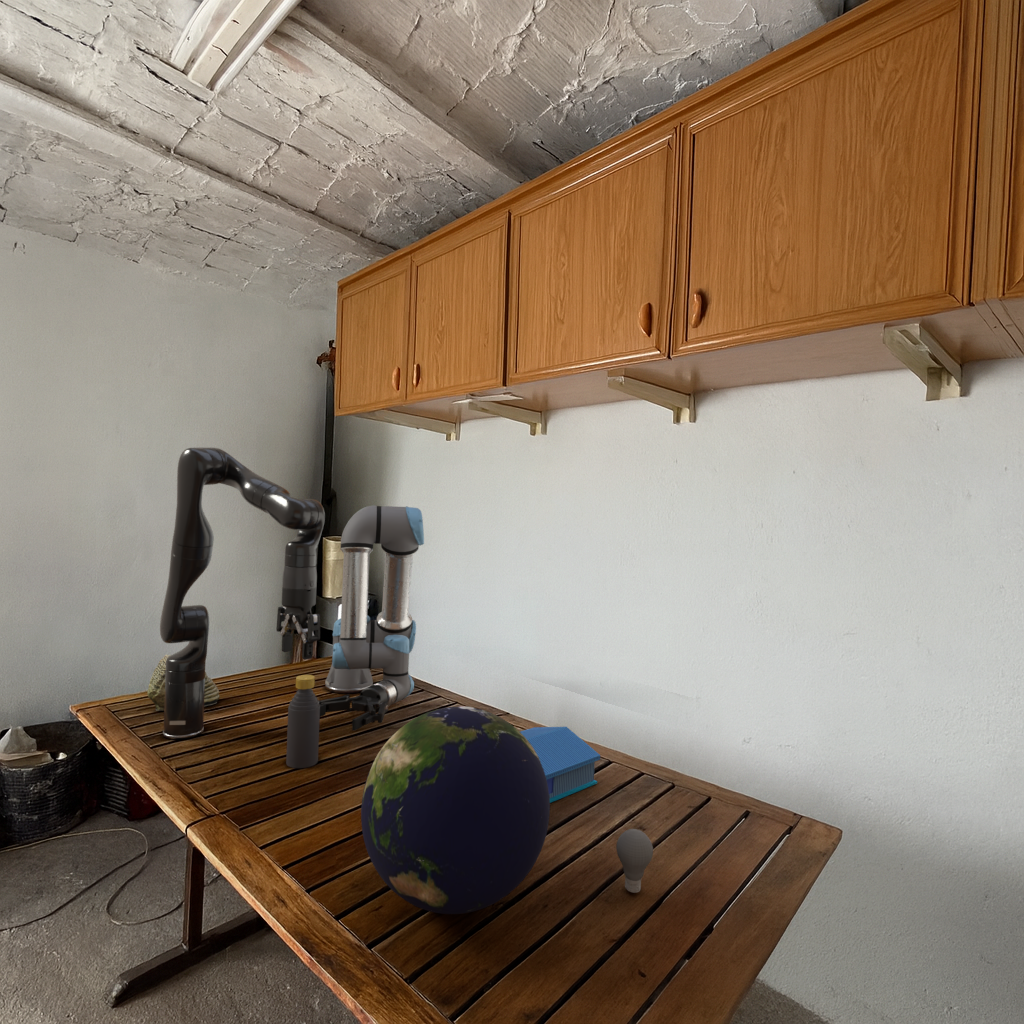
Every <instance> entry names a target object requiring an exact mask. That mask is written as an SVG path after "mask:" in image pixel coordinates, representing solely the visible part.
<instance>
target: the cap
mask: <svg viewBox="0 0 1024 1024" xmlns="http://www.w3.org/2000/svg"><path fill="white" fill-rule="evenodd" d="M315 677H316V676H315V675H313V674H302V675H297V676H296V677H295V688H296V689H297V690H298V689H311V688H312V689H314V687H315V685H316V678H315Z"/></svg>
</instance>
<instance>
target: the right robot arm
mask: <svg viewBox="0 0 1024 1024" xmlns="http://www.w3.org/2000/svg"><path fill="white" fill-rule="evenodd" d="M423 520H424V519H423V513H422V510H421V509H420V508H418V507H410V506H389V505H367V506H365V507H363V508H361V509H359V510H358V511H356V512H355V513H354V514H353V515H352V516H351V517H350V518H349V520H348V521H347V522H346V524H345V526H344V528H343V531H342V534H341V537H340V549H339V550H340V551H341V552H342V553H343V560H342V561H343V562H342V563H343V564H342V585H341V587H342V588H341V611H340V612H341V613H340V618H338V619H337V620H335V622H334V623H333V629H332V630H333V631H332V653H331V654H332V656H331V666H330V668H329V671H328V673H327V676H326V678H325V682H324V683H325V684H324V686H325V687H324V688H325V689H326V690H327V691H329V692H332V693H337V694H343V695H341V696H337V697H331V698H327V699H326V698H325V699H320V700H319V704H320V718H321V717H323V716H326V714H327V713H334V712H341V711H347V712H349V713H350V712H364V713H362V714H361V715H358V716H356V717H355V718H353V719H352V723H351V731H353V732H355V731H357V730H359V729H361V728H362V727H365V726H366V725H367V726H368V725H369V724H371V723H376V722H377V724H382V723H383V721H384V718H385V714H387V712H388V711H389V707H390V706H392V705H394V704H396V703H398V702H400V701H403V700H405V699H406V698H407V697H409V696H410V695H411V694H412V693H413V691H414V688H415V681H414V679H413V676H412V675H411V674H410V672H409V665H410V654H411V653H412V651H413V649H414V645H415V641H416V633H417V623H416V621H415V620H414V619H413V616H412V615H411V614H410V613H409V609H410V608H409V607H410V598H411V585H412V571H413V559H414V555H415V554H416V553H417V552H418V551H419V547H420V546H423V545H424V544H425V533H424V521H423ZM374 544H376V545H380V548H381V551H383V552H384V553H385V555H384V556H385V557H384V559H385V560H384V575H383V588H382V605H381V606H382V607H381V612H379V613H378V615H377V616H376V619H371V617H370V616H369V615H368V608H369V607H368V604H369V580H370V579H369V578H370V577H369V576H370V554H371V553H372V552H373V551H374ZM379 669H382V679H381V680H380V681H378V682H376V683H374V680H373V676H372V672H371V670H379ZM358 693H359V694H358ZM351 694H358V695H357V696H353V697H351Z"/></svg>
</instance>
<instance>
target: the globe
mask: <svg viewBox="0 0 1024 1024" xmlns="http://www.w3.org/2000/svg"><path fill="white" fill-rule="evenodd" d="M462 706H463V707H458V706H448V707H442V708H436V709H434V710H431V711H427V712H424V713H422V714H420V715H419V716H417V717H415V718H413V719H411V720H410V721H408V722H407V723H405V724H404V725H402V727H400V728H398V730H397V731H396V732H394V734H392V736H391V737H390V738H388V740H387V741H386V742H385V743H384V745H383V746H382V747H381V748H380V750H379V752H378V753H377V755H376V757H375V759H374V760H373V763H372V765H371V767H370V769H369V772H368V773H367V777H366V780H365V784H364V787H363V790H362V791H363V792H362V796H361V797H362V798H361V807H360V819H361V821H360V823H361V831H362V836H363V837H362V838H363V841H364V842H363V843H364V845H365V849H366V852H367V854H368V857H369V859H370V861H371V864H372V865H373V867H374V869H375V870H376V872H377V874H378V875H379V877H380V878H381V879H382V880H383V882H384V883H385V884H386V885H387V887H389V889H390V890H392V891H393V892H394V893H395V894H396V895H397V896H398V897H400V898H401V899H402V900H404V901H405V902H407V903H409V904H410V905H412V906H414V907H417V908H419V909H421V910H423V911H428V912H430V913H436V914H441V915H463V914H468V913H474V912H477V911H481V910H483V909H486V908H488V907H490V906H492V905H494V904H496V903H499V901H501V900H502V899H504V898H505V897H507V896H508V895H509V894H511V893H512V892H513V891H514V890H515V889H516V888H517V887H518V886H519V885H520V884H522V882H524V879H525V878H526V877H527V876H528V875H529V873H530V872H531V870H532V869H533V867H534V865H535V864H536V862H537V860H538V858H539V856H540V854H541V852H542V849H543V847H544V844H545V842H546V838H547V833H548V828H549V825H550V824H549V823H550V814H551V803H550V798H549V789H548V784H547V780H546V776H545V773H544V770H543V767H542V765H541V762H540V759H539V757H538V755H537V754H536V752H535V750H534V749H533V747H532V745H531V744H530V743H529V742H528V740H527V739H526V738H525V737H524V736H523V735H522V734H521V733H520V731H519V730H518V729H517V728H516V727H515V726H514V725H513V724H511V723H510V722H508V721H507V720H506V719H504V718H502V717H500V716H499V715H496V714H494V713H492V712H489V711H487V710H484V709H481V708H477V707H473V706H464V705H462Z"/></svg>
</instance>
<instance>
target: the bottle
mask: <svg viewBox="0 0 1024 1024" xmlns="http://www.w3.org/2000/svg"><path fill="white" fill-rule="evenodd" d="M319 701H320V700H319V699H318V697H317V696H316V694H315V693H314V690H313V688H311V689H297V690H296V693H295V694H294V695H293V697H292V699H291V701H290V702H289V705H288V707H287V731H286V733H287V734H286V754H285V755H286V757H285V759H286V760H285V764H286V766H287V767H289V768H292V769H305V768H306V769H307V768H310V767H313V766H315V765H316V764H318V762H319V749H320V748H319V747H320V743H319V742H320V718H321V717H320V704H319Z"/></svg>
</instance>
